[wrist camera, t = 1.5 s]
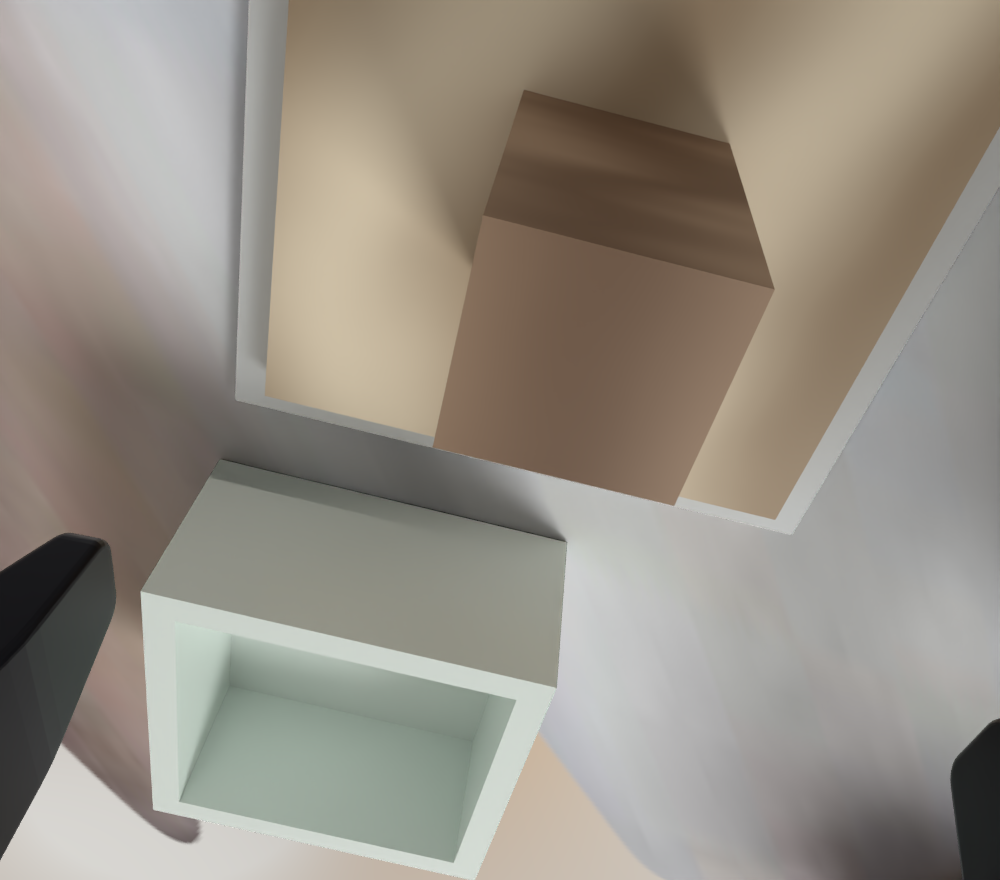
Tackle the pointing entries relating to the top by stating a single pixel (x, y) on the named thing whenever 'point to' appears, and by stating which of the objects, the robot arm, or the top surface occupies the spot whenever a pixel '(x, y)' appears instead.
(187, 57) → the top surface
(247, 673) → the mint square tray
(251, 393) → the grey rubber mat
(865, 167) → the oak lid
